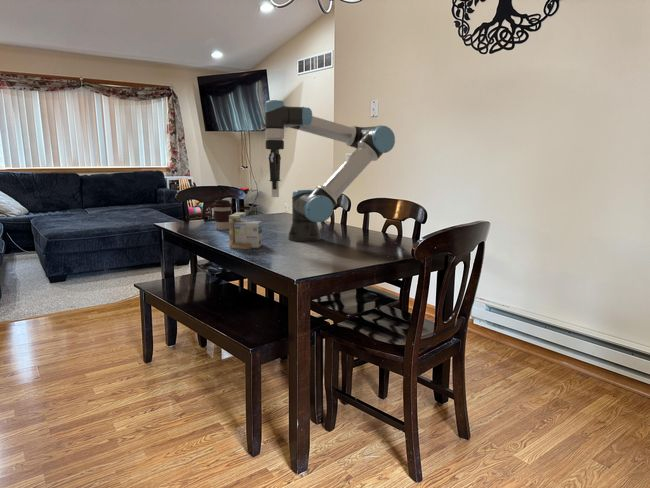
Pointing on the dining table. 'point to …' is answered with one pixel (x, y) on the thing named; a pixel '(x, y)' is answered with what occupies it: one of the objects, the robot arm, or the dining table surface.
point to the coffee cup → (222, 214)
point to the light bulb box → (248, 233)
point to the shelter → (232, 219)
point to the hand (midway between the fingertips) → (275, 196)
